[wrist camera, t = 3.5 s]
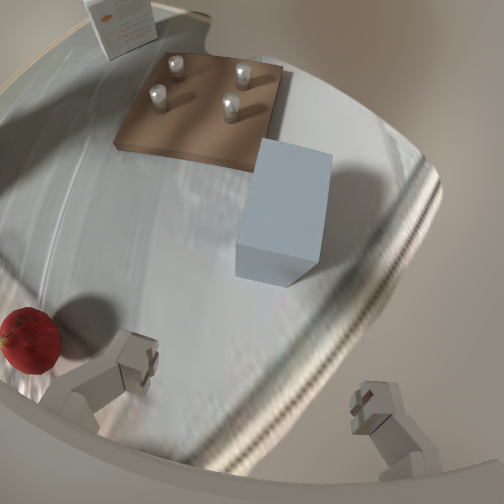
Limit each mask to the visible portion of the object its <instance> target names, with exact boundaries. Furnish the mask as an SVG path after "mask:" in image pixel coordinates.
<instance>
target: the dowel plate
mask: <svg viewBox="0 0 504 504" xmlns="http://www.w3.org/2000/svg"><path fill="white" fill-rule="evenodd" d="M282 71H283V67H282V66H277V65H272V64H267V63H262V62H256V61H250V60H243V59H236V58H229V57H220V56H211V55H200V54H187V53H165V54H164V56H163V57H162V59H161V60H160V62H159V63H158V65H157V66H156V68H155V69H154V71H153V73H152V74H151V76H150V77H149V79H148V80H147V82H146V84H145V85H144V87H143V89H142V90H141V92H140V94H139V95H138V97H137V99H136V100H135V102H134V104H133V106H132V107H131V109H130V111H129V113H128V115H127V116H126V118H125V120H124V122H123V124H122V126H121V128H120V130H119V132H118V133H117V135H116V137H115V139H114V141H113V143H114V145H115V147H116V148H117V150H121V151H129V152H137V153H144V154H151V155H158V156H165V157H171V158H177V159H183V160H189V161H195V162H201V163H206V164H212V165H217V166H222V167H227V168H232V169H237V170H242V171H247V172H252V173H254V169H255V165H256V161H257V157H258V153H259V149H260V145H261V141H262V138H266V135H267V131H268V127H269V123H270V119H271V115H272V111H273V107H274V103H275V100H276V96H277V92H278V88H279V84H280V80H281V76H282Z"/></svg>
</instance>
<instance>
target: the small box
mask: <svg viewBox="0 0 504 504" xmlns="http://www.w3.org/2000/svg"><path fill="white" fill-rule="evenodd" d="M83 1H84V3H85V6H86V9H87V12H88V14H89V18H90V21H91V23H92V26H93V29H94V31H95V34H96V36H97V39H98V41H99V44H100V46H101V48H102V50H103V52H104V54H105V55H106V57H107V59H108V60H109V61H110V60H112V59H114V58H116V57H118V56H120V55H122V54H124V53H126V52H128V51H130V50H132V49H134V48H137V47H139V46H141V45H143V44H145V43H148V42H150V41H152V40H155V39H157V38H158V36H157V31H156V27H155V22H154V18H153V13H152V8H151V2H150V0H83Z"/></svg>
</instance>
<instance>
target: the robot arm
mask: <svg viewBox="0 0 504 504" xmlns="http://www.w3.org/2000/svg"><path fill="white" fill-rule="evenodd" d="M157 348H158V340H155V339H152V338H149V337H146V336H143V335H140V334H137V333H134V332H131V331H128V330H126V329H123V328H121V329H120V330H119V331H118V333H117V334H116V336H115V337H114V339H113V341H112V342H111V344H110V346H109V347H108V349H107V351H106V353H105V354H104V356H103V358H102V357H98V358H96V359H94V360H92V361H90V362H88V363H86V364H84V365H82V366H80V367H78V368H76V369H73V370H71V371H69V372H67V373H65V374H63V375H61V376H59V377H57V378H55V379H53V380H52V382H51V384H50V385H49V387H48V388H47V390H46V392H45V393H44V395H43V397H42V398H41V400H40V402H39V403H38V404H37V403H35V402H34V401H32V400H30V399H29V398H27V397H25V396H24V395H22V394H21V393H19V392H18V391H16V390H14V389H13V388H11V387H10V386H8V385H7V384H6V383H4V382H3V381H1V380H0V504H504V464H503V463H502V462H501V461H500V460H498V459H493V460H489V461H486V462H483V463H479V464H476V465H472V466H468V467H465V468H461V469H456V470H453V471H448V472H443V471H442V465H441V460H440V455H439V450H438V448H437V446H436V445H435V444H434V443H433V442H432V441H431V440H430V438H428V436H427V435H426V434H425V433H424V432H423V431H422V429H421V428H420V427H419V426H418V425H417V424H416V423H415V421H413V419H412V418H411V417H410V416H409V415H406V414H405V409H404V405H403V401H402V397H401V393H400V389H399V385H398V384H397V383H390V382H378V381H363V382H362V383H361V385H360V389H359V390H357V391H356V392H354V394H353V395H352V397H351V400H350V406H349V408H350V412H351V414H352V415H353V419H352V420H351V429H352V434H355V435H370V438H371V440H372V441H373V443H374V444H375V446H376V448H377V449H378V451H379V452H380V454H381V455H382V457H383V459H384V460H385V462H386V463H387V465H388V466H389V468H388V469H386V470H385V471H383V472H381V473H380V474H379V482H370V483H347V484H319V483H318V484H317V483H296V482H283V481H273V480H264V479H256V478H249V477H242V476H236V475H230V474H225V473H220V472H215V471H210V470H206V469H201V468H197V467H193V466H189V465H185V464H181V463H177V462H174V461H170V460H167V459H163V458H160V457H157V456H154V455H151V454H148V453H145V452H142V451H139V450H136V449H133V448H130V447H128V446H125V445H122V444H120V443H117V442H115V441H112V440H110V439H107V438H105V437H102V436H100V435H98V434H97V433H98V431H99V428H100V427H99V424H98V422H97V420H96V418H95V417H94V415H93V414H94V413H95V412H97V411H98V410H100V409H101V408H103V407H104V406H105V405H107V404H108V403H110V402H111V401H113V400H114V399H116V398H117V397H118V396H120V395H121V394H123V393H124V392H125V391H128V392H131V393H134V394H137V395H140V396H144V397H145V396H146V393H147V391H148V389H149V386H150V377H152V376H154V374H155V372H156V369H157V366H158V361H159V353H158V352H157V351H156V350H157Z"/></svg>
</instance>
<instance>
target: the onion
mask: <svg viewBox="0 0 504 504" xmlns="http://www.w3.org/2000/svg"><path fill="white" fill-rule="evenodd" d="M0 347H1V350H2V352H3V354H4V356H5V358H6V359H7V360H8V362H9V363H10V364H11V365H12V366H13V367H14V368H16V369H18V370H19V371H21V372H23V373H25V374H34V375H42V374H43V373H45V372H46V371H48V370H49V369H51V368H52V367H53V366H54V365H55V363H56V361H57V360H58V358H59V355H60V350H61V339H60V334H59V331H58V329H57V326H56V324H55V323H54V322H53V321H52V319H51V318H50V317H49V316H48V315H47V314H46V313H44V312H42V311H39V310H37V309H34V308H32V307H25V308H22V309H18V310H15V311H13V312H12V313H10V314H9V315H8V316H7V317H6V318H5V320H4V321H3V323H2V326H1V328H0Z"/></svg>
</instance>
